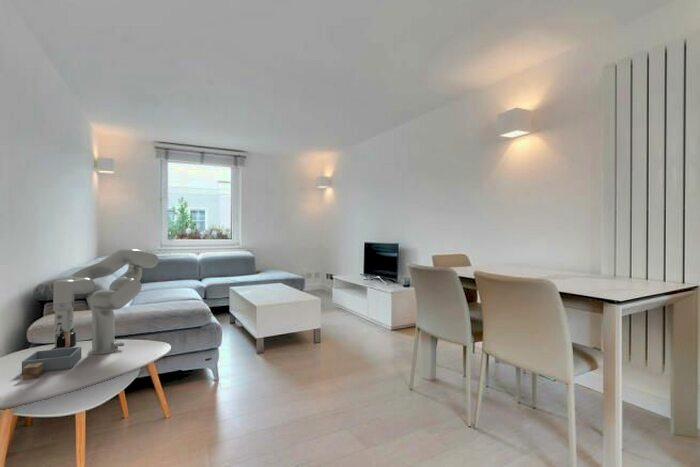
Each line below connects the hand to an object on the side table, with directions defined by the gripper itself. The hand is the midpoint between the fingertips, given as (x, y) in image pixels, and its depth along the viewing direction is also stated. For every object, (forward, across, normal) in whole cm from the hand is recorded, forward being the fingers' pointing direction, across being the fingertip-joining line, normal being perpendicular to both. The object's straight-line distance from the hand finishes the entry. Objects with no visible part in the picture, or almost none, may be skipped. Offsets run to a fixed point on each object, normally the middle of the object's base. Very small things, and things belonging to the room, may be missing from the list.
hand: (63, 345), depth 163 cm
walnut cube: (+10, -12, +7) cm, 16 cm away
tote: (+9, 0, +4) cm, 10 cm away
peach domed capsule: (+1, 0, 0) cm, 1 cm away
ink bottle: (+9, +32, +9) cm, 35 cm away
